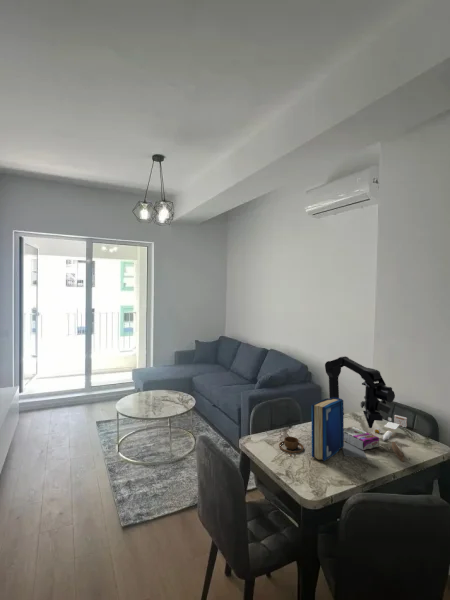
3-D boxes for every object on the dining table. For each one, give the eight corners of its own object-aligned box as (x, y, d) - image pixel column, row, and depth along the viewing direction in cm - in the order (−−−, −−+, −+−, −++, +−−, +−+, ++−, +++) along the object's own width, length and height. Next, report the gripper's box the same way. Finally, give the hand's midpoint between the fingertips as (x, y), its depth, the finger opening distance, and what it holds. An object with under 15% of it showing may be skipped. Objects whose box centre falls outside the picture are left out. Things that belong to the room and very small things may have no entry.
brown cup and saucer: (288, 439, 174) (288, 428, 174) (325, 451, 162) (325, 439, 162) (272, 452, 160) (272, 440, 160) (312, 465, 148) (312, 452, 148)
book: (332, 443, 169) (331, 394, 169) (346, 447, 164) (345, 397, 164) (311, 458, 153) (310, 404, 154) (325, 462, 149) (324, 407, 149)
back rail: (400, 461, 152) (400, 455, 152) (391, 447, 166) (392, 441, 166) (403, 461, 152) (403, 455, 152) (394, 447, 166) (394, 442, 166)
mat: (344, 455, 157) (344, 455, 157) (340, 442, 170) (340, 442, 170) (366, 458, 155) (366, 457, 155) (360, 444, 168) (360, 444, 168)
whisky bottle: (388, 422, 200) (369, 440, 179) (388, 412, 200) (369, 430, 178) (406, 427, 193) (389, 447, 172) (406, 417, 193) (389, 436, 171)
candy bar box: (379, 447, 165) (354, 435, 180) (379, 437, 165) (354, 425, 180) (362, 451, 161) (338, 438, 176) (363, 441, 161) (338, 428, 176)
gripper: (395, 404, 149) (394, 438, 150) (384, 391, 168) (382, 422, 168) (369, 401, 152) (367, 435, 152) (360, 389, 170) (359, 419, 170)
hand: (370, 427), depth 161 cm, fingers closed
